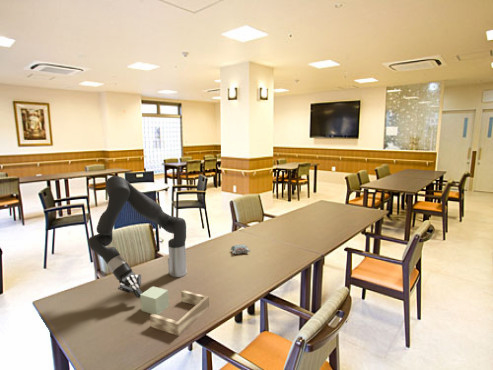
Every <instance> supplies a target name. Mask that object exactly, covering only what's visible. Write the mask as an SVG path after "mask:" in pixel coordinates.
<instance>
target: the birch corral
mask: <svg viewBox="0 0 493 370" xmlns="http://www.w3.org/2000/svg"><path fill="white" fill-rule="evenodd" d="M180 294H181V295H180V296H181V298H180V299H181V302H183V303H187V304H188V305H189V304H190V305H194V306H193V307H192V308H191V309H190V310H189V311H188V312H186V314H184V315H183V316H182V317H181V318H180V319H179V320H178V321H177V320H176V319H175V320H174V319H171V318H167V317H165V316H162V315H160V314H158V315H156V314H150V315H149V320H150V321H149V322H150V327H151V328H154V329H155V330H156V329H157V330H159V331H162V332H166V333H169V334H172V335H175V336H176V337H177V336H178V337H180V336H181V335H182V334H183V333H185V331H186V330H188V328H189V327H190V326H191V325H192V324H193V323H194V322H195V321H196V320H198V319H199V318H200V317H201V315H202V314H204V312H206V311H207V310H208V309H209V307H210V297H209V296H208V295H203V294H200V293H195V292H191V291H188V290H184V289H182V291H180Z"/></svg>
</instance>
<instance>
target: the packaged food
mask: <svg viewBox="0 0 493 370" xmlns="http://www.w3.org/2000/svg"><path fill="white" fill-rule="evenodd" d="M230 250H231V251H232V255H233V254H235V255H240V254H246V253H249V252H251V250H250V249H249V248H248V246H247V245H246V244H235V245H232V246H231V247H230Z"/></svg>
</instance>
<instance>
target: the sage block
mask: <svg viewBox="0 0 493 370" xmlns="http://www.w3.org/2000/svg"><path fill="white" fill-rule="evenodd" d="M140 306H141V307H140V308H141V312H144V313H148V314H150V315H151V314H156V315H160V314H161V313H162V312H164V311H165V310H166V309H167V308H168V307H170V302H169V290H168V289H166V288H161V287H157V286H153V285H152V286H150V287H149V288H148V289H146V290H145V291H144V292H142V294H140Z"/></svg>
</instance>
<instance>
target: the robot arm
mask: <svg viewBox="0 0 493 370" xmlns="http://www.w3.org/2000/svg"><path fill="white" fill-rule="evenodd" d="M105 190H106V194H107V196H108V203H107V207H106V209H105V210H104V211H103V212H102V213H101V215H100V216H99V219H98V223H97V226H96V232H97V234H95V235H92V236H90V237H89V239H88V241H87V243H88V246H89V248H90V250H92V251H93V252H95V253H96V254H97V255H98V256H99V257H101V258H102V260H104V262H105V263H106V265H107V267H108V269H109V270H110V272H111V273H112V274H113V275H114V277H115V278H116V280H118V282H119V286H118V287H117V289H118V290H120V291H123V292H126V293H127V294H130V293H133V295H135V297H136V298H137V299H139V298H140V294H142V293H143V292H142V290H141V289H140V286H141V285H142V274H141V273H138V274H136V273H135V272H134V271H133V268H132V267H131V266H130V265H129V264H128V262H127V261H126V259H125V258H124V257H123V256H122V255H121V254H120V252H119V251H118V250H117V249H116V247H113V246H111V247H107V246H109V245H110V244H112V241H113V230H114V227H115V224H116V221H117V219H118V217H119V214H120V213H121V211H122V210H123V207H124V206H125V204H126V203H128V204H129V205H131V206H130V207H132V209H134V211H135V212H137V213H138V214H139V215H140V216H142V217H144V218H145V219H147V220H149V221H150V222H153V223H155V224H157V225H158V226H159V227H160V228H162V229H163V230H164V231H165V232H167V233H169V234H173V237H172V238H171V239H169V240H168V241H167V243H168V244H167V245H168V258H167V265H168V267H167V268H168V275H170V277H172V278H181V277H184V276H186V275H187V254H186V240H187V223H186V220H185V219H184V218H182V217H178V216H172V215H170V214H168V213H166V212H164V211H163V208H162V206H161V205H160V204H159V203H158V202H156V201H155V200H154V199H152V198H151V197H149V196H147V195H146V194H145V193H143V192H141V191H140V190H138V189H137V188H136V187H135V186H133V185H132V184H131V183H130V182H129V181H128V180H127V179H125V178H124V177H122V176H119V175H114V176H110V177H108V179H107V180H106V182H105ZM140 299H141V298H140Z"/></svg>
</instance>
